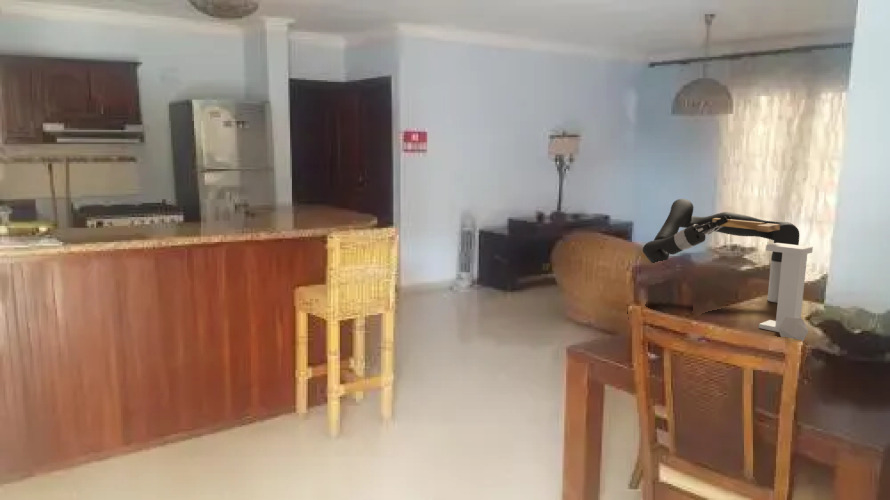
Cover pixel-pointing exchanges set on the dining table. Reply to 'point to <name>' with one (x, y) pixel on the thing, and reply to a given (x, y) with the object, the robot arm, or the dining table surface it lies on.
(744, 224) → the t bar
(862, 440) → the dining table surface
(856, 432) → the dining table surface
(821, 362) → the dining table surface
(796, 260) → the i beam
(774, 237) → the robot arm
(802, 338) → the die
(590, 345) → the dining table surface
